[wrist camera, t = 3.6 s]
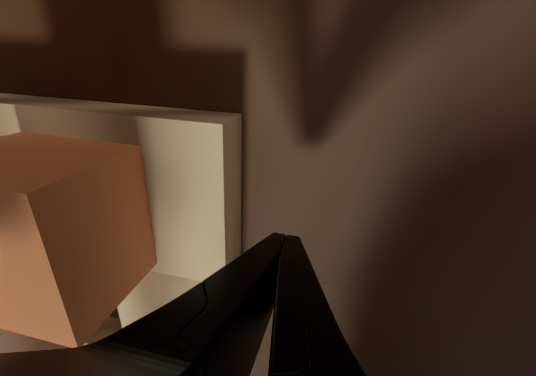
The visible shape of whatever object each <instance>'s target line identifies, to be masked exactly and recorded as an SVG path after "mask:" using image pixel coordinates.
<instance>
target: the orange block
mask: <svg viewBox="0 0 536 376" xmlns="http://www.w3.org/2000/svg"><path fill="white" fill-rule="evenodd" d="M156 264H157V259H156V252H155V245H154V239H153V232H152V225H151V218H150V211H149V204H148V197H147V190H146V183H145V176H144V169H143V162H142V155H141V148H140V146H138V145H129V144H121V143H112V142H103V141H95V140H86V139H77V138H69V137H60V136H52V135H43V134H34V133H26V132H18V133H14V134H9V135H5V136H0V328H1V329H5V330H8V331H12V332H16V333H19V334H23V335H26V336H30V337H34V338H37V339H41V340H45V341H48V342H52V343H56V344H59V345H63V346H67V347H70V348H74V347H79V346H83V344H84V343H85V342H86V341H87V340H88V339H89V338H90V337H91V336H92V334H93V333H94V332H95V331H96V330H97V329H98V328H99V327H100V326H101V325H102V323H103V322H104V321H105V320H106V319H107V318H108V317H109V316H110V315H111V313H112V312H113V311H114V310H115V309H116V308H117V307H118V306H119V305H120V303H121V302H122V301H123V300H124V299H125V298H126V297H127V296H128V295H129V294H130V292H131V291H132V290H133V289H134V288H135V287H136V286H137V285H138V284H139V282H140V281H141V280H142V279H143V278H144V277H145V276H146V275H147V274H148V272H149V271H150V270H151V269H152V268H153V267H154V266H155V265H156Z"/></svg>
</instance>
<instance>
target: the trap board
mask: <svg viewBox="0 0 536 376" xmlns="http://www.w3.org/2000/svg"><path fill="white" fill-rule="evenodd" d="M18 132H26V133H34V134H43V135H52V136H60V137H69V138H77V139H86V140H95V141H103V142H112V143H121V144H129V145H138V146H140V148H141V155H142V162H143V169H144V176H145V183H146V190H147V197H148V204H149V211H150V218H151V225H152V232H153V239H154V245H155V252H156V259H157V264H156V265H155V266H154V267H153V268H152V269H151V270H150V271H149V272H148V274H147V275H146V276H145V277H144V278H143V279H142V280H141V281H140V282H139V284H138V285H137V286H136V287H135V288H134V289H133V290H132V291H131V292H130V294H129V295H128V296H127V297H126V298H125V299H124V300H123V301H122V302H121V303H120V305H119V306H118V307H117V308H116V309H115V310H114V311H113V312H112V313H111V315H110V316H109V317H108V318H107V319H106V320H105V321H104V322H103V323H102V325H101V326H100V327H99V328H98V329H97V330H96V331H95V332H94V333H93V334H92V336H91V337H90V338H89V339H88V340H87V341H86V342H85V343H84V344H83V346H84V345H87V344H90V343H93V342H95V341H98V340H100V339H102V338H104V337H106V336H108V335H110V334H112V333H114V332H116V331H118V330H120V329H121V328H123V327H125V326H127V325H129V324H131V323H132V322H134V321H136V320H138V319H140V318H142V317H143V316H145V315H147V314H149V313H151V312H153V311H154V310H156V309H158V308H160V307H161V306H163V305H165V304H167V303H168V302H170V301H172V300H174V299H175V298H177V297H178V296H180V295H182V294H183V293H185V292H186V291H188V290H189V289H191V288H192V287H194V286H195V285H197V284H198V283H200V282H202V281H203V280H204V279H206V278H207V277H209V276H210V275H212V274H213V273H215V272H216V271H218V270H219V269H221V268H222V267H224V266H225V265H227V264H228V263H229V262H231V261H232V260H234V259H235V258H237V257H238V256H240V255H241V191H242V114H238V113H226V112H215V111H203V110H192V109H180V108H169V107H157V106H146V105H134V104H123V103H111V102H100V101H88V100H76V99H65V98H53V97H42V96H30V95H19V94H7V93H0V136H5V135H9V134H14V133H18Z"/></svg>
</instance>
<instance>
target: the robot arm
mask: <svg viewBox="0 0 536 376" xmlns="http://www.w3.org/2000/svg"><path fill="white" fill-rule="evenodd" d="M273 308H274V313H273V324H272V336H271V347H270V358H269V370H268V376H366V375H365V373H364V371H363V370H362V368H361V366H360V365H359V363H358V361H357V360H356V358H355V356H354V355H353V353H352V351H351V349H350V347H349V346H348V344H347V342H346V340H345V339H344V337H343V335H342V333H341V330H340V328H339V326H338V324H337V322H336V320H335V318H334V315H333V313H332V311H331V309H330V306H329V304H328V302H327V299H326V297H325V295H324V293H323V290H322V288H321V286H320V283H319V281H318V279H317V276H316V274H315V272H314V269H313V267H312V265H311V262H310V260H309V258H308V255H307V253H306V251H305V248H304V246H303V244H302V242H301V239H300V237H298V236H292V235H287V236H286V235H285V234H280V233H272V234H271V235H269V236H268V237H266V238H265V239H263V240H262V241H260V242H259V243H257V244H256V245H255V246H253V247H252V248H250V249H249V250H247V251H246V252H244V253H243V254H241V255H240V256H238V257H237V258H235V259H234V260H232V261H231V262H229V263H228V264H227V265H225V266H224V267H222V268H221V269H219V270H218V271H216V272H215V273H213V274H212V275H210V276H209V277H207V278H206V279H204V280H203V281H202V282H200V283H198V284H197V285H195V286H194V287H192V288H191V289H189V290H188V291H186V292H185V293H183V294H182V295H180V296H178V297H177V298H175V299H174V300H172V301H170V302H168V303H167V304H165V305H163V306H161V307H160V308H158V309H156V310H154V311H153V312H151V313H149V314H147V315H145V316H143V317H142V318H140V319H138V320H136V321H134V322H132V323H131V324H129V325H127V326H125V327H123V328H121V329H120V330H118V331H116V332H114V333H112V334H110V335H108V336H106V337H104V338H102V339H100V340H98V341H95V342H93V343H90V344H87V345H84V346H79V347H74V348H66V349H52V350H39V351H25V352H12V353H0V376H250V373H251V370H252V368H253V365H254V362H255V359H256V356H257V354H258V351H259V348H260V345H261V342H262V339H263V337H264V334H265V331H266V328H267V325H268V322H269V320H270V317H271V314H272V311H273Z"/></svg>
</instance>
